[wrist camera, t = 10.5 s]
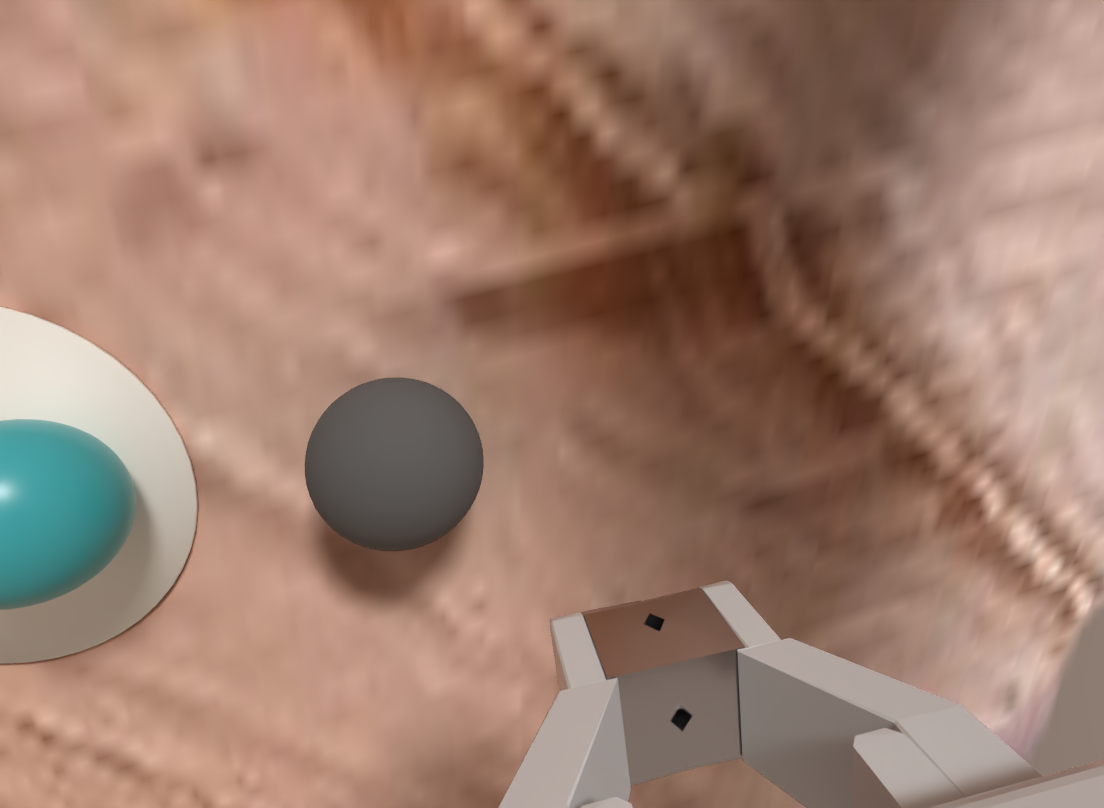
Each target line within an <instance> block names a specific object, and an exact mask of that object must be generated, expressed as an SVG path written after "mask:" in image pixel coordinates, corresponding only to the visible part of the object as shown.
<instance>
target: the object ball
mask: <svg viewBox="0 0 1104 808" xmlns="http://www.w3.org/2000/svg"><path fill="white" fill-rule="evenodd" d="M135 510H136V496H135V489H134V485H133V481H132V479H131V476H130V474H129V472H128V470H127V468H126V467H125V465H124V463H123V462H122V461H121V459H120V458H119V457H118V455H117V454H116V453H115V452H114V451H113V450H112V449H111V448H109V447H108V446H107V445H106V444H104V443H103V442H102V441H100V440H99V439H98V438H96V437H94V436H92V435H91V434H89V433H87V432H84V431H82V430H80V429H77V428H75V427H72V426H69V425H65V424H61V423H57V422H52V421H45V420H35V419H13V420H2V421H0V610H8V609H16V608H23V607H28V606H32V605H36V604H40V603H44V602H47V601H50V600H52V599H55V598H57V597H60V596H62V595H65V594H67V593H69V592H71V591H73V590H75V589H77V588H78V587H80V586H81V585H83V584H84V583H86V582H87V581H89V580H90V579H92V578H93V577H95V576H96V575H97V574H98V573H100V572H101V571H102V570H103V569H104V568H105V567H106V566H107V565H108V564H109V563H110V562H111V561H112V560H113V558H114V557H115V556H116V555H117V553H118V552H119V551H120V549H121V548H122V546H123V545H124V543H125V541H126V539H127V537H128V535H129V533H130V530H131V528H132V525H133V521H134V517H135Z"/></svg>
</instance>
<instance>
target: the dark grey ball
mask: <svg viewBox="0 0 1104 808" xmlns="http://www.w3.org/2000/svg"><path fill="white" fill-rule="evenodd" d="M482 475H483V449H482V444H481V440H480V437H479V434H478V431H477V429H476V427H475V425H474V423H473V421H472V419H471V418H470V416H469V414H468V413H467V412H466V411H465V409H464V408H463V407H462V406H461V405H460V404H459V403H458V402H457V401H456V400H455V399H454V398H453V397H451V396H450V395H449V394H447V393H446V392H444V391H443V390H441V389H439V388H437V387H435V386H433V385H431V384H429V383H426V382H423V381H419V380H415V379H408V378H384V379H378V380H374V381H370V382H367V383H364V384H361V385H359V386H357V387H355V388H353V389H351V390H349V391H348V392H346V393H345V394H343V395H342V396H340V397H339V398H338V399H337V400H335V401H334V402H333V403H332V404H331V405H330V406H329V407H328V408H327V409H326V411H325V412H324V413H323V414H322V416H321V417H320V419H319V420H318V422H317V424H316V426H315V427H314V429H313V431H312V434H311V436H310V439H309V442H308V446H307V450H306V457H305V478H306V484H307V488H308V491H309V495H310V497H311V499H312V501H313V503H314V506H315V508H316V509H317V511H318V512H319V514H320V516H321V517H322V518H323V519H324V520H325V521H326V523H327V524H328V525H329V526H330V527H331V528H332V529H333V530H334V531H336V532H337V533H338V534H339V535H341V536H343V537H344V538H346V539H348V540H349V541H351V542H353V543H355V544H358V545H360V546H363V547H366V548H370V549H375V550H380V551H402V550H409V549H414V548H418V547H421V546H424V545H426V544H428V543H431V542H433V541H435V540H437V539H439V538H440V537H442V536H443V535H445V534H446V533H447V532H449V531H450V530H451V529H453V528H454V527H455V526H456V525H457V524H458V523H459V522H460V521H461V520H462V518H463V517H464V516H465V515H466V513H467V512H468V510H469V509H470V507H471V506H472V504H473V502H474V500H475V498H476V496H477V493H478V491H479V488H480V484H481V480H482Z"/></svg>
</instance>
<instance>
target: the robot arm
mask: <svg viewBox="0 0 1104 808" xmlns="http://www.w3.org/2000/svg"><path fill="white" fill-rule="evenodd" d="M550 630H551V637H552V644H553V651H554V658H555V665H556V672H557V679H558V685H559V690H560V691H559V692H558V694H557V696H556V698H555V700H554V702H553V704H552V706H551V707H550V709H549V711H548V713H547V715H546V717H545V719H544V721H543V723H542V725H541V727H540V729H539V731H538V732H537V734H536V736H535V738H534V740H533V742H532V744H531V746H530V748H529V750H528V752H527V754H526V756H525V758H524V759H523V761H522V763H521V765H520V767H519V769H518V771H517V773H516V775H515V777H514V779H513V781H512V783H511V784H510V786H509V788H508V790H507V792H506V794H505V796H504V798H503V800H502V802H501V804H500V806H499V808H633V807H632V804H631V803H629V802H628V800H629V796H630V792H631V786H632V785H636V784H639V783H642V782H646V781H649V780H653V779H656V778H660V777H663V776H667V775H670V774H674V773H677V772H681V771H684V770H688V769H693V768H697V767H702V766H706V765H711V764H715V763H720V762H724V761H729V760H733V759H738V758H743V761H744V762H745V763H747V764H748V765H749V766H751V767H752V768H753V769H755V770H756V771H757V772H759V773H760V774H761V775H763V776H764V777H766V778H767V779H768V780H770V781H771V782H772V783H774V784H775V785H776V786H778V787H779V788H780V789H782V790H783V791H784V792H786V793H787V794H789V795H790V796H791V797H793V798H794V799H795V800H797V801H798V802H799V803H801V804H802V805H803V806H805V807H806V808H1104V759H1103V760H1099V761H1096V762H1092V763H1088V764H1085V765H1081V766H1078V767H1074V768H1070V769H1067V770H1063V771H1060V772H1056V773H1052V774H1049V775H1045V776H1042V775H1041V774H1039V773H1038V772H1037V771H1036V770H1035V769H1034V768H1033V767H1032V766H1031V765H1029V764H1028V763H1027V762H1026V761H1025V760H1024V759H1023V758H1021V757H1020V756H1019V755H1018V754H1017V753H1016V752H1015V751H1014V750H1012V749H1011V748H1010V747H1009V746H1008V745H1007V744H1006V743H1004V742H1003V741H1002V740H1001V739H1000V738H999V737H998V736H997V735H995V734H994V733H993V732H992V731H991V730H990V729H989V728H988V727H986V726H985V725H984V724H983V723H982V722H981V721H980V720H978V719H977V718H976V717H975V716H974V715H973V714H972V713H971V712H969V711H968V710H967V709H966V708H965V707H964V706H962V705H960V704H957V703H955V702H952V701H949V700H947V699H944V698H942V697H939V696H937V695H934V694H932V693H929V692H927V691H924V690H922V689H919V688H916V687H914V686H911V685H909V684H906V683H904V682H901V681H899V680H896V679H894V678H891V677H888V676H886V675H883V674H881V673H878V672H876V671H873V670H871V669H868V668H866V667H863V666H861V665H858V664H855V663H853V662H850V661H848V660H845V659H843V658H840V657H838V656H835V655H833V654H830V653H828V652H825V651H822V650H820V649H817V648H815V647H812V646H810V645H807V644H805V643H802V642H800V641H797V640H794V639H792V638H787V639H783V640H781V639H780V638H779V637H778V635H777V634H776V633H775V632H774V631H773V630H772V629H771V627H770V626H769V625H768V624H767V623H766V622H765V620H764V619H763V618H762V617H761V616H760V615H759V614H758V612H757V611H756V610H755V609H754V608H753V607H752V606H751V604H750V603H749V602H748V601H747V600H746V599H745V598H744V596H743V595H742V594H741V593H740V592H739V591H738V589H737V588H736V587H735V586H734V585H733V584H732V583H731V582H729V581H722V582H718V583H714V584H710V585H706V586H702V587H698V588H697V589H692V590H688V591H684V592H679V593H675V594H670V595H666V596H662V597H657V598H653V599H649V600H644V601H636V602H630V603H625V604H620V605H615V606H610V607H604V608H599V609H594V610H589V611H583V612H581V613H580V612H578V613H573V614H569V615H564V616H559V617H555V618H550Z"/></svg>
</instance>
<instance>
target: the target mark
mask: <svg viewBox="0 0 1104 808" xmlns="http://www.w3.org/2000/svg"><path fill="white" fill-rule="evenodd" d="M13 419H35V420H45V421H52V422H57V423H61V424H65V425H69V426H72V427H75V428H77V429H80V430H82V431H84V432H87V433H89V434H91V435H92V436H94V437H96V438H98V439H99V440H100V441H102V442H103V443H104V444H106V445H107V446H108V447H109V448H111V449H112V450H113V451H114V452H115V453H116V454H117V455H118V457H119V458H120V459H121V461H122V462H123V463H124V465H125V467H126V468H127V470H128V472H129V474H130V476H131V479H132V481H133V485H134V489H135V496H136V510H135V517H134V521H133V525H132V528H131V530H130V533H129V535H128V537H127V539H126V541H125V543H124V545H123V546H122V548H121V549H120V551H119V552H118V553H117V555H116V556H115V557H114V558H113V560H112V561H111V562H110V563H109V564H108V565H107V566H106V567H105V568H104V569H103V570H102V571H101V572H100V573H98V574H97V575H96V576H95V577H93V578H92V579H90V580H89V581H87V582H86V583H84V584H83V585H81V586H80V587H78V588H77V589H75V590H73V591H71V592H69V593H67V594H65V595H62V596H60V597H57V598H55V599H52V600H50V601H47V602H44V603H40V604H36V605H32V606H28V607H23V608H16V609H8V610H0V664H5V663H27V662H34V661H41V660H48V659H54V658H58V657H62V656H66V655H70V654H73V653H77V652H80V651H83V650H85V649H88V648H91V647H93V646H96V645H98V644H101V643H103V642H105V641H107V640H109V639H111V638H112V637H114V636H116V635H118V634H120V633H122V632H123V631H125V630H126V629H128V628H129V627H131V626H132V625H133V624H135V623H136V622H138V621H139V620H141V619H142V618H143V617H144V616H145V615H146V614H147V613H148V612H149V611H150V610H151V609H153V608H154V607H155V606H156V605H157V604H158V603H159V601H160V600H161V599H162V598H163V597H164V595H165V594H166V593H167V592H168V591H169V589H170V588H171V587H172V586H173V584H174V583H175V581H176V579H177V578H178V576H179V574H180V573H181V571H182V569H183V568H184V565H185V563H186V560H187V558H188V556H189V553H190V551H191V548H192V545H193V540H194V536H195V532H196V528H197V516H198V495H197V483H196V479H195V474H194V470H193V466H192V462H191V459H190V456H189V453H188V451H187V448H186V446H185V443H184V441H183V438H182V436H181V435H180V433H179V431H178V429H177V427H176V426H175V424H174V422H173V420H172V418H171V417H170V415H169V414H168V412H167V411H166V410H165V408H164V407H163V406H162V404H161V403H160V402H159V400H158V399H157V397H156V396H155V395H154V394H153V393H152V392H151V391H150V390H149V389H148V387H147V386H146V385H145V384H144V383H143V382H142V381H141V380H140V379H139V378H138V377H137V376H136V375H135V374H134V373H133V372H132V371H130V370H129V369H128V368H127V367H126V366H124V365H123V364H122V363H121V362H120V361H118V360H117V359H116V358H115V357H114V356H112V355H111V354H109V353H108V352H106V351H105V350H103V349H102V348H100V347H99V346H97V345H96V344H94V343H93V342H91V341H90V340H88V339H86V338H84V337H82V336H80V335H78V334H76V333H74V332H72V331H70V330H68V329H66V328H65V327H63V326H60V325H57V324H55V323H52V322H50V321H47V320H45V319H42V318H40V317H37V316H35V315H31V314H28V313H24V312H20V311H17V310H13V309H9V308H6V307H1V306H0V421H2V420H13Z"/></svg>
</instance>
